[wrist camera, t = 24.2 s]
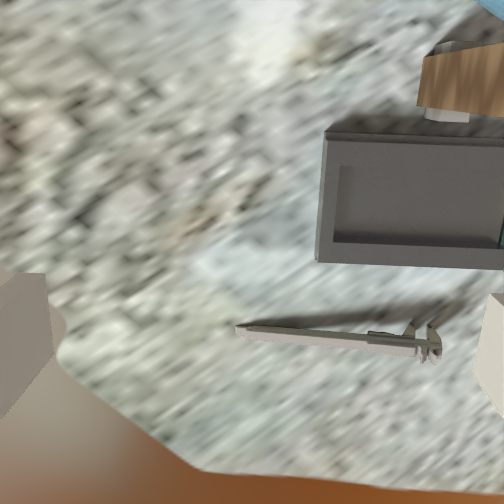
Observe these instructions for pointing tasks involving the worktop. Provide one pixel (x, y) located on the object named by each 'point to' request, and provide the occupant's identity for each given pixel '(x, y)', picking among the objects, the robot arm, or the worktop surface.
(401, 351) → the caliper
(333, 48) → the worktop surface
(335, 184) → the grey shallow bin
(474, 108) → the brown long block
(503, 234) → the tray
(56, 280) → the worktop surface
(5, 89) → the worktop surface
